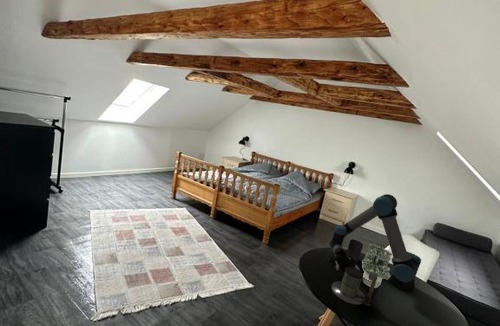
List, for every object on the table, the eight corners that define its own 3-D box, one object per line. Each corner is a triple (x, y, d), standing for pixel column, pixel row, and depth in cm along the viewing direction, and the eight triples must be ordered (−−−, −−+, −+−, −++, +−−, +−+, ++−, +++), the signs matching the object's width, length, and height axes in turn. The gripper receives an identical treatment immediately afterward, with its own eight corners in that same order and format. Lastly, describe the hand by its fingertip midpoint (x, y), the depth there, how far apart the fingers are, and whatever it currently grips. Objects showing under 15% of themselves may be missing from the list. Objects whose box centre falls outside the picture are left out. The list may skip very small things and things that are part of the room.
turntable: (358, 285, 181) (358, 284, 181) (370, 307, 161) (370, 306, 161) (328, 279, 181) (328, 278, 181) (336, 300, 161) (336, 299, 161)
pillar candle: (343, 254, 218) (348, 237, 214) (354, 255, 219) (360, 238, 216) (348, 261, 209) (354, 243, 205) (360, 263, 210) (366, 245, 206)
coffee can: (338, 284, 176) (344, 264, 173) (354, 288, 175) (360, 268, 172) (341, 295, 166) (347, 274, 163) (358, 299, 165) (365, 278, 162)
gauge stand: (368, 301, 166) (378, 273, 162) (371, 307, 162) (381, 278, 158) (360, 300, 166) (370, 271, 162) (363, 305, 162) (372, 276, 158)
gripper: (355, 261, 198) (366, 279, 178) (320, 254, 198) (327, 271, 177) (358, 251, 197) (369, 269, 176) (323, 244, 196) (330, 261, 176)
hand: (348, 270), depth 177 cm, fingers open, 13 cm apart
